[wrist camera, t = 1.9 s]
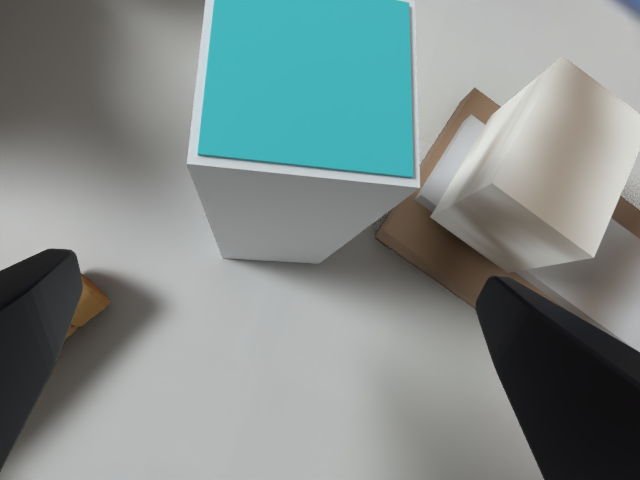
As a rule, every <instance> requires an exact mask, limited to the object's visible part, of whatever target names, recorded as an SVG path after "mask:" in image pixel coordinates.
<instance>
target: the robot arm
mask: <svg viewBox="0 0 640 480" xmlns="http://www.w3.org/2000/svg"><path fill="white" fill-rule="evenodd" d="M82 291H83V281H82V277H81V273H80V268H79V264H78V260H77V256H76V254H75V253H74V252H73V251H72V250H67V249H47V250H45V251H42V252H40V253H38V254H36V255H34V256H32V257H29V258H27V259H25V260H23V261H21V262H19V263H16V264H14V265H12V266H10V267H8V268H6V269H3V270H1V271H0V471H1V469H2V467H3V465H4V463H5V461H6V459H7V457H8V456H9V454H10V452H11V450H12V448H13V446H14V444H15V442H16V440H17V438H18V436H19V434H20V432H21V430H22V428H23V426H24V424H25V423H26V421H27V419H28V417H29V415H30V413H31V411H32V409H33V407H34V405H35V403H36V401H37V399H38V397H39V395H40V393H41V391H42V390H43V388H44V386H45V384H46V382H47V380H48V378H49V376H50V374H51V372H52V370H53V368H54V366H55V364H56V361H57V359H58V356H59V354H60V351H61V349H62V346H63V343H64V341H65V338H66V335H67V333H68V330H69V327H70V325H71V322H72V319H73V316H74V314H75V311H76V308H77V306H78V303H79V300H80V298H81V295H82ZM475 308H476V313H477V316H478V319H479V322H480V325H481V328H482V331H483V334H484V337H485V340H486V343H487V346H488V349H489V352H490V355H491V358H492V361H493V364H494V367H495V369H496V372H497V374H498V376H499V379H500V381H501V383H502V385H503V388H504V390H505V392H506V394H507V397H508V399H509V401H510V404H511V406H512V408H513V410H514V413H515V415H516V417H517V419H518V422H519V424H520V426H521V428H522V431H523V433H524V435H525V437H526V440H527V442H528V444H529V446H530V449H531V451H532V453H533V455H534V458H535V460H536V462H537V464H538V467H539V469H540V471H541V473H542V476H543V478H544V480H640V352H639V351H637V350H635V349H634V348H632V347H630V346H629V345H627V344H625V343H623V342H622V341H620V340H618V339H616V338H615V337H613V336H611V335H609V334H608V333H606V332H604V331H603V330H601V329H599V328H597V327H596V326H594V325H592V324H590V323H589V322H587V321H585V320H583V319H582V318H580V317H578V316H576V315H575V314H573V313H571V312H570V311H568V310H566V309H564V308H563V307H561V306H559V305H557V304H556V303H554V302H552V301H550V300H549V299H547V298H545V297H544V296H542V295H540V294H538V293H537V292H535V291H533V290H531V289H530V288H528V287H526V286H524V285H523V284H521V283H519V282H517V281H516V280H514V279H512V278H511V277H508V276H499V275H493V276H490V277H489V278H488V279H487V280H486V282H485V284H484V286H483V288H482V290H481V292H480V294H479V296H478V298H477V300H476V303H475Z"/></svg>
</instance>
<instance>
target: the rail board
mask: <svg viewBox="0 0 640 480" xmlns="http://www.w3.org/2000/svg"><path fill="white" fill-rule="evenodd" d="M639 150H640V114H639V113H638V112H636V111H635V110H634V109H632V108H631V107H630V106H628V105H627V104H626V103H624V102H623V101H622V100H620V99H619V98H618V97H617V96H615V95H614V94H613V93H611V92H610V91H609V90H607V89H606V88H605V87H603V86H602V85H601V84H599V83H598V82H597V81H595V80H594V79H593V78H591V77H590V76H589V75H588V74H586V73H585V72H584V71H582V70H581V69H580V68H578V67H577V66H576V65H574V64H573V63H572V62H570V61H569V60H568V59H566V58H565V57H564V56H562V57H561V58H560V59H559V60H557V61H556V62H555V63H554V64H553V65H551V66H550V67H549V68H548V69H547V70H545V71H544V72H543V73H542V74H541V75H539V76H538V77H537V78H536V79H534V80H533V81H532V82H531V83H530V84H528V85H527V86H526V87H525V88H524V89H522V90H521V91H520V92H519V93H518V94H516V95H515V96H514V97H513V98H511V99H510V100H509V101H508V102H507V103H505V104H504V105H503V106H502V107H500V106H499V105H498V104H496V103H495V102H494V101H492V100H491V99H490V98H488V97H487V96H485V95H484V94H483V93H481V92H480V91H479V90H477V89H476V88H474V89H473V90H472V91H471V92H470V93H469V94H468V95H467V96H466V97H465V98H464V99H463V100H462V101H461V102H460V104H459V105H458V107H457V108H456V110H455V112H454V113H453V115H452V116H451V118H450V119H449V121H448V122H447V124H446V126H445V127H444V129H443V130H442V132H441V133H440V135H439V137H438V138H437V140H436V141H435V143H434V144H433V146H432V147H431V149H430V151H429V152H428V154H427V155H426V157H425V158H424V160H423V162H422V163H421V165H420V188H419V189H418V190H417V191H415V192H414V193H413V194H411V195H410V196H409V197H407V198H406V199H405V200H403V201H402V202H401V203H399V204H398V205H397V206H395V207H394V208H393V209H392V210H391V211H390V213H389V215H388V216H387V218H386V219H385V221H384V222H383V224H382V226H381V227H380V229H379V230H378V232H377V233H376V235H375V236H374V237H376V238H377V239H378V240H380V241H381V242H383V243H384V244H385V245H387V246H388V247H390V248H391V249H392V250H394V251H395V252H397V253H398V254H399V255H401V256H402V257H404V258H405V259H406V260H408V261H409V262H411V263H412V264H413V265H415V266H416V267H418V268H419V269H420V270H422V271H423V272H425V273H426V274H427V275H429V276H430V277H432V278H433V279H434V280H436V281H437V282H439V283H440V284H441V285H443V286H444V287H446V288H447V289H448V290H450V291H451V292H453V293H454V294H455V295H457V296H458V297H460V298H461V299H462V300H464V301H465V302H467V303H468V304H469V305H471V306H472V307H474V308H475V303H476V300H477V298H478V296H479V294H480V292H481V290H482V288H483V286H484V284H485V282H486V280H487V279H488V278H489V277H490V276H493V275H499V276H508V277H511V278H512V279H514V280H516V281H517V282H519V283H521V284H523V285H524V286H526V287H528V288H530V289H531V290H533V291H535V292H537V293H538V294H540V295H542V296H544V297H545V298H547V299H549V300H550V301H552V302H554V303H556V304H557V305H559V306H561V307H563V308H564V309H566V310H568V311H570V312H571V313H573V314H575V315H576V316H578V317H580V318H582V319H583V320H585V321H587V322H589V323H590V324H592V325H594V326H596V327H597V328H599V329H601V330H603V331H604V332H606V333H608V334H609V335H611V336H613V337H615V338H616V339H618V340H620V341H622V342H623V343H625V344H627V345H629V346H630V347H632V348H634V349H635V350H637V351H639V352H640V210H639V209H637V208H636V207H635V206H633V205H632V204H631V203H629V202H628V201H627V200H625V199H624V198H622V197H621V196H620V195H621V193H622V191H623V188H624V186H625V184H626V181H627V179H628V176H629V174H630V172H631V169H632V167H633V165H634V162H635V160H636V158H637V155H638V153H639ZM475 309H476V308H475Z"/></svg>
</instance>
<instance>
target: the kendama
mask: <svg viewBox="0 0 640 480" xmlns="http://www.w3.org/2000/svg"><path fill="white" fill-rule="evenodd" d="M81 277H82V281H83V291H82V295H81V298H80V300H79V303H78V306H77V308H76V311H75V314H74V316H73V319H72V322H71V325H70V327H69V330H68V333H67V335H66V338H67V337H69V336H70V335H71V334H72V333H73V332H75V331H76V329H77V327H81V326H83V325H84V324H85V323H86V322H88V321H89V320H90V319H92V318H93V317H94V316H96V315H97V314H98V313H99V312H101V311H102V310H104V309H105V308H106V307H107V306H108V305H109V304H110V299H109V298H108V297H107V296H106V295H105V294H104V293H103V292H102V291H101V290H100V289H99V288H98V287H96V286H95V285H94V284H93V283H92V282H91V281H90V280H89V279H87V278H86V277H85V276H84V275H83V274H81ZM66 338H65V339H66Z"/></svg>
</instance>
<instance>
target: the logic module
mask: <svg viewBox="0 0 640 480" xmlns="http://www.w3.org/2000/svg"><path fill="white" fill-rule="evenodd" d="M187 166H188V169H189V171H190V174H191V177H192V179H193V182H194V184H195V187H196V190H197V192H198V195H199V198H200V200H201V203H202V205H203V208H204V211H205V213H206V216H207V218H208V221H209V224H210V226H211V229H212V232H213V234H214V237H215V239H216V242H217V245H218V247H219V250H220V252H221V255H222V258H229V259H246V260H262V261H279V262H296V263H313V264H319V263H321V262H322V261H323V260H325V259H326V258H327V257H329V256H330V255H331V254H333V253H334V252H335V251H337V250H338V249H339V248H341V247H342V246H343V245H345V244H346V243H347V242H349V241H350V240H351V239H353V238H354V237H355V236H357V235H358V234H359V233H361V232H362V231H363V230H365V229H366V228H367V227H369V226H370V225H371V224H373V223H374V222H375V221H377V220H378V219H379V218H381V217H382V216H383V215H385V214H386V213H387V212H389V211H390V210H391V209H393V208H394V207H395V206H397V205H398V204H399V203H401V202H402V201H403V200H405V199H406V198H407V197H409V196H410V195H411V194H413V193H414V192H415V191H417V190H418V189H419V188H420V164H419V130H418V95H417V61H416V26H415V1H414V0H205V8H204V17H203V25H202V34H201V43H200V52H199V60H198V69H197V78H196V86H195V95H194V104H193V112H192V121H191V130H190V138H189V147H188V156H187Z"/></svg>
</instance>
